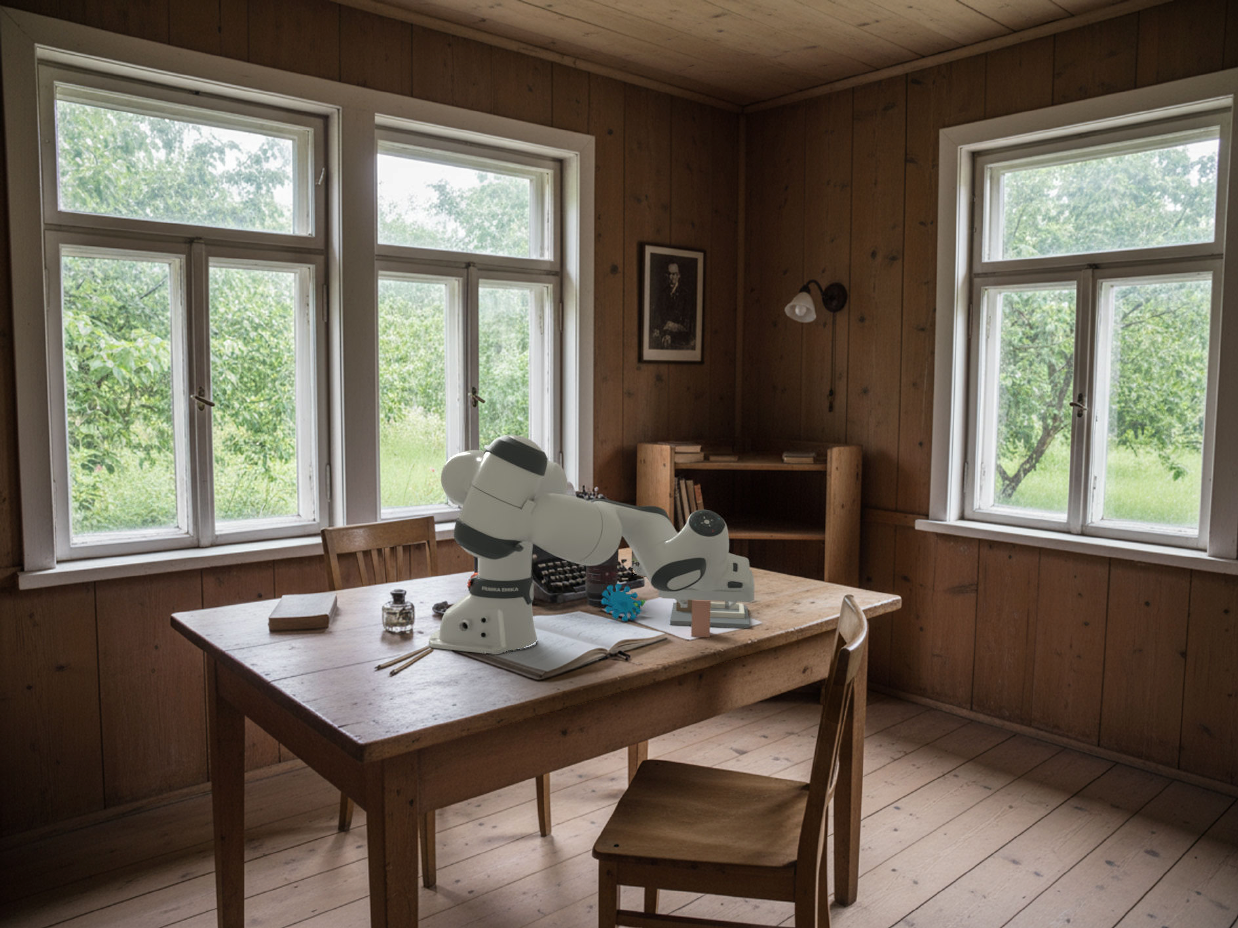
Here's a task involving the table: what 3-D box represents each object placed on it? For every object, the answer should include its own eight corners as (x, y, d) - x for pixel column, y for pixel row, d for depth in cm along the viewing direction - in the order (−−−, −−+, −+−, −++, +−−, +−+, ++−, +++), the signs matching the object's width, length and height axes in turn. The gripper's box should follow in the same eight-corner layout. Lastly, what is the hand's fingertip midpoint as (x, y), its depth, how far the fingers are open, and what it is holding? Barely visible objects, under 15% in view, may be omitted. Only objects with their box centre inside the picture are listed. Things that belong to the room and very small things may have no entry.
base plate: (670, 624, 214) (670, 594, 213) (673, 606, 231) (674, 578, 231) (749, 628, 212) (750, 598, 211) (746, 609, 230) (747, 581, 229)
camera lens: (621, 606, 231) (623, 546, 229) (590, 608, 228) (591, 547, 227) (611, 598, 238) (612, 540, 237) (581, 600, 236) (582, 541, 234)
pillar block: (691, 636, 204) (692, 600, 204) (691, 631, 208) (692, 596, 207) (709, 637, 204) (710, 601, 203) (709, 632, 208) (710, 597, 207)
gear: (606, 617, 213) (600, 580, 219) (597, 630, 217) (591, 594, 223) (650, 620, 217) (642, 584, 223) (640, 633, 221) (633, 597, 227)
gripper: (654, 579, 190) (656, 616, 200) (756, 584, 188) (753, 620, 198) (656, 554, 194) (659, 591, 204) (756, 558, 192) (753, 595, 202)
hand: (706, 606), depth 201 cm, fingers open, 8 cm apart
